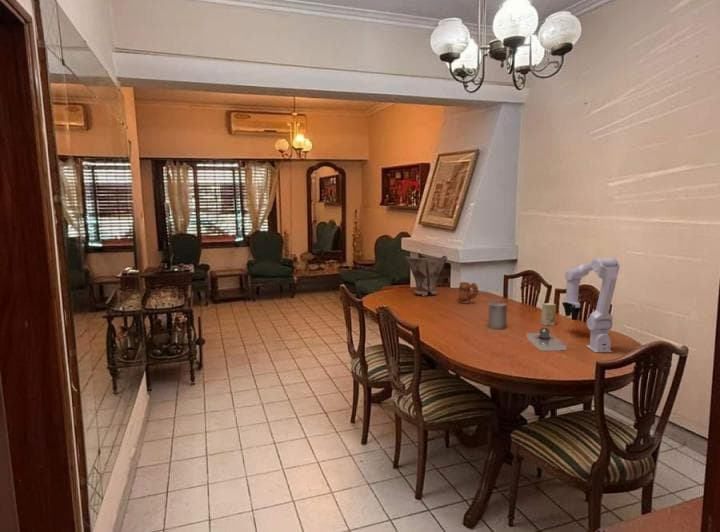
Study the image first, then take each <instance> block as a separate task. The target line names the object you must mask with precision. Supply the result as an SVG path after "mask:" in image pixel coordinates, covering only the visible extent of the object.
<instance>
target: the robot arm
mask: <svg viewBox="0 0 720 532" xmlns="http://www.w3.org/2000/svg"><path fill="white" fill-rule="evenodd" d="M619 270H620V262H619V261H618V259H617V258H615V257H607V258H606V257H605V258H604V257H603V258H594V259H592V260H591V261H590V262H589V263H587V264H583V263H581V264H578V266H576V267H573V268H572V269H567V270H565V272H564V278H565V280H566V291H565V293H566V294H565V295H566V296H565V297H563V302H561V304H562V306H563V308H564V314H565V316H566V317H570V318H571V320H573V321H577V320H578V317H579V314H580V312H581V310H582V309H583V308H582V307H581V304H580V302H579V289H580V287H579V286H580V284H581V281H582V278H585V277H586V276H588V275H589V273H590V272H592V271H593V272H595V274H596V276H598V278H600V279H601V280H602V282H601V286H600V290H599V296H598V300H597V302H596V303H597V304H596V308H595V310H594V311H592V313H590V314H589V317H588V319H587V320H586V327H587V328H588V330H589V331H590V336H589V338H590V339H589V344H586V345H585V346H586V347H587V348H588V349H590V350H591V351H592V352H594V353H613V351H612V350H611V345H612V344H611V343H612V339H611V337H610V335H609V333H610V330H611V329H612V328H613V319H614V318H613V315H612V314H610V313H609V312H610V309H611V305H612V304H611V303H612V300H613V295H614V294H615V293H614V292H615V289H616V283H617V280H618V274H619Z"/></svg>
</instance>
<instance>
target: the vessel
mask: <svg viewBox="0 0 720 532" xmlns="http://www.w3.org/2000/svg"><path fill="white" fill-rule="evenodd" d="M405 260H406V261H407V263H408V265H409V267H410V271H411V273H412V275H413V278H414V281H415V282H414V283H415V289H414V291H413V294H414V295H416V294H417V296H420V295H424V296H425V297H427V296H429V295H430V296H431V295H433V296H437V295H438V291H437V290H436V284H437V282H438V279H439V276H440V274H441V272H442V270H443V268H444V266H445V264H446V262H447V260H448V256H447V255H442V257H413V256H412V257H411V256H405ZM428 294H429V295H428ZM436 294H437V295H436Z"/></svg>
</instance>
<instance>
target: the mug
mask: <svg viewBox="0 0 720 532" xmlns="http://www.w3.org/2000/svg"><path fill="white" fill-rule="evenodd" d="M458 290H459V296H458V301H459V303H460V304H463V303H465V304H470V303H471V300H473V299H476V298H477V296H478V293H479V287H478V285H477V284H476V282H471V283H469V282H465V281H464V282H463V281H462V282H460V283H459V287H458ZM471 290H472V293H471Z"/></svg>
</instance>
